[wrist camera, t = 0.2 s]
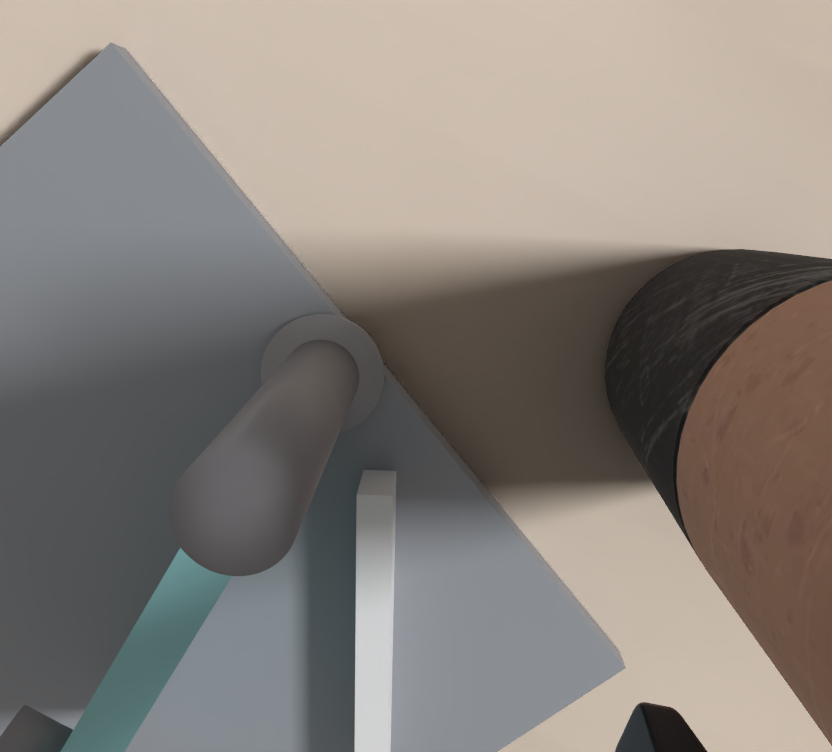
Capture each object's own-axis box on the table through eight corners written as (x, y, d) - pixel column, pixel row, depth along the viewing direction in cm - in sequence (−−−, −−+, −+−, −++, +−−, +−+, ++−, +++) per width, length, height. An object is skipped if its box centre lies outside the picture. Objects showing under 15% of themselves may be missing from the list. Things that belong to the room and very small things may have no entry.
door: (276, 307, 23) (152, 398, 13) (373, 364, 23) (323, 497, 13) (65, 675, 26) (-165, 975, 16) (153, 722, 26) (-20, 1044, 16)
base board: (198, 926, 30) (171, 1007, 27) (-298, 442, 26) (-393, 475, 23) (628, 643, 26) (651, 700, 23) (135, 39, 22) (89, 16, 19)
